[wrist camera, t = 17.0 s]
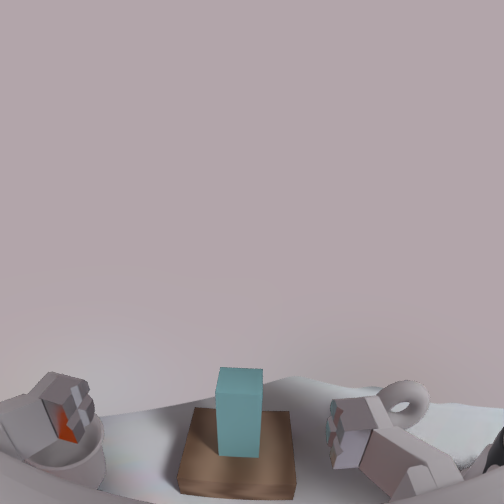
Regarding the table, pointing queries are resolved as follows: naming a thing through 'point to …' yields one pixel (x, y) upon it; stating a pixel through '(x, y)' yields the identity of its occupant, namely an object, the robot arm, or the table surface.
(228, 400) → the teal block
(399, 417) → the donut
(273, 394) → the table surface
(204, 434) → the oak base
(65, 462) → the teacup
